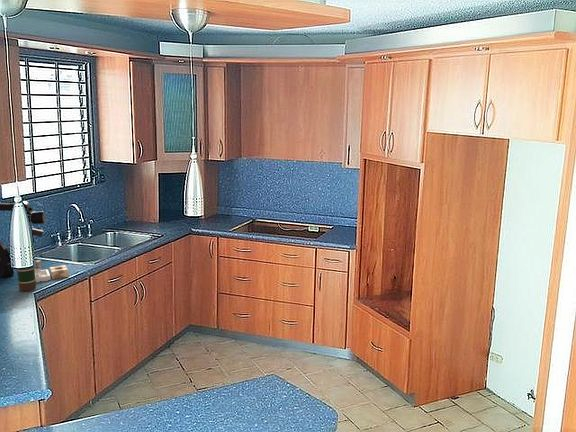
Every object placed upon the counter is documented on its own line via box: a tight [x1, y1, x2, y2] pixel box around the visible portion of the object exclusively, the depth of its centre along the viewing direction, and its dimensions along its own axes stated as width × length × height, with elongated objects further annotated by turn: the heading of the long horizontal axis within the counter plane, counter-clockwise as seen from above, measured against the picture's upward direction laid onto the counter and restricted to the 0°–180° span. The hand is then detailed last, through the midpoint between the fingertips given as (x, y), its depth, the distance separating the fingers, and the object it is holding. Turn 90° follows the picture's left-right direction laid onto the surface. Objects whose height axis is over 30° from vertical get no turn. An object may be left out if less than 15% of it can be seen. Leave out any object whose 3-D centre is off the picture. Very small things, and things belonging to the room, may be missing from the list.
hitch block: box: [49, 264, 69, 280], centre depth 310 cm, size 8×10×4 cm
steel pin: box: [34, 259, 43, 277], centre depth 305 cm, size 4×4×9 cm
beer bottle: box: [16, 266, 37, 293], centre depth 285 cm, size 8×8×24 cm
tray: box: [35, 269, 52, 283], centre depth 305 cm, size 11×14×2 cm
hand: (28, 253), depth 312 cm, fingers open, 9 cm apart
